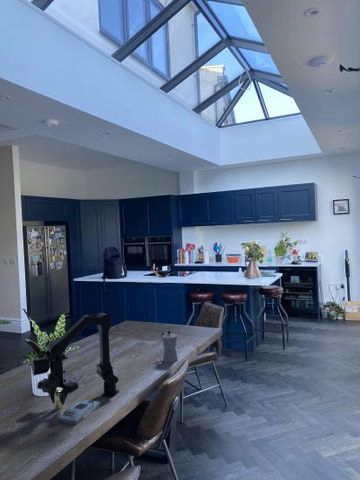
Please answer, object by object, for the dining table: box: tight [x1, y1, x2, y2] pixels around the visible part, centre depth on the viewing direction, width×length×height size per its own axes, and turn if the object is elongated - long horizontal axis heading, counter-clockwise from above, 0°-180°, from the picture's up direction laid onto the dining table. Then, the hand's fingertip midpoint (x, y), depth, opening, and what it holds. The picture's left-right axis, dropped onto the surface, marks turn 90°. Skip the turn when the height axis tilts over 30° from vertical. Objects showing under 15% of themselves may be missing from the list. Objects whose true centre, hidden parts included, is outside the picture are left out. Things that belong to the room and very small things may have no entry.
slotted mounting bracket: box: [59, 399, 101, 426], centre depth 165 cm, size 18×8×4 cm, turn 159°
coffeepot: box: [161, 330, 178, 364], centre depth 229 cm, size 15×9×18 cm, turn 33°
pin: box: [54, 389, 63, 411], centre depth 171 cm, size 3×3×8 cm
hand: (58, 404), depth 171 cm, fingers open, 5 cm apart
